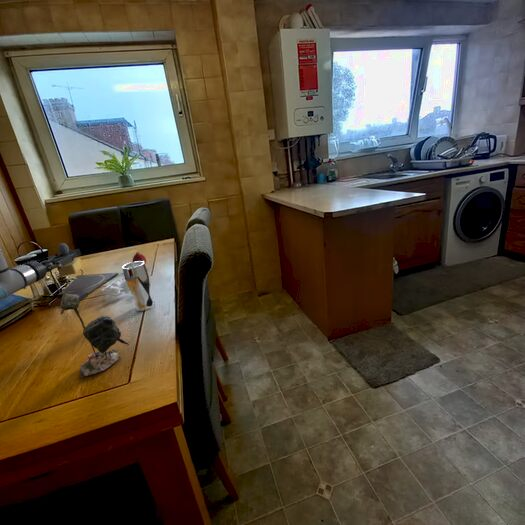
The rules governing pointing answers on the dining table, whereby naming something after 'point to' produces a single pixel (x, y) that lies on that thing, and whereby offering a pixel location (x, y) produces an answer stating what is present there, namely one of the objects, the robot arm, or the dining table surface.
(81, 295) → the ink pad
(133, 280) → the beer glass
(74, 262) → the rubber stamp
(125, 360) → the dining table surface
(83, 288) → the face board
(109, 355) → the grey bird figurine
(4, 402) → the dining table surface
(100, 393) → the dining table surface
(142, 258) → the onion
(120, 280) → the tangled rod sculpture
